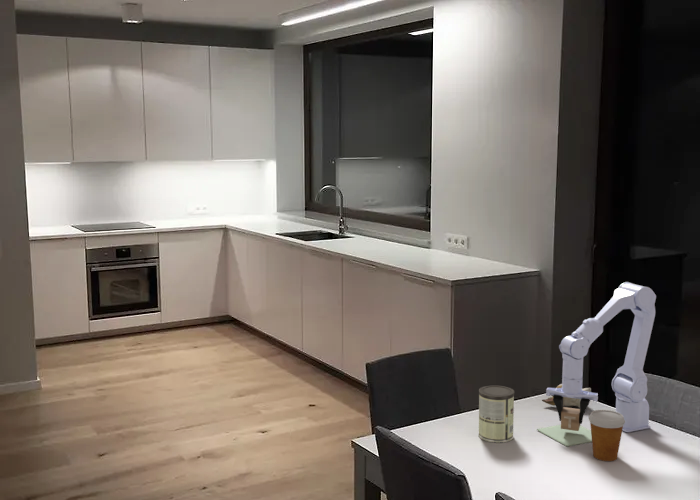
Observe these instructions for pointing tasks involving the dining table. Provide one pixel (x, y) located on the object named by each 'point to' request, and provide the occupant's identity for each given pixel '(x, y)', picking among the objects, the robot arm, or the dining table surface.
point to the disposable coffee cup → (606, 433)
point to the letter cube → (570, 419)
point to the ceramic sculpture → (566, 399)
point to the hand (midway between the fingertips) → (570, 421)
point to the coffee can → (496, 413)
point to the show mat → (567, 435)
